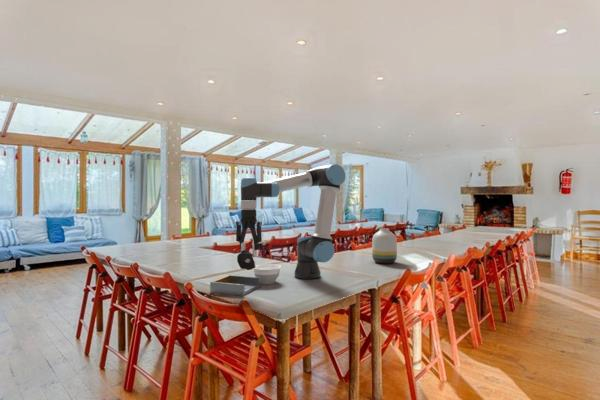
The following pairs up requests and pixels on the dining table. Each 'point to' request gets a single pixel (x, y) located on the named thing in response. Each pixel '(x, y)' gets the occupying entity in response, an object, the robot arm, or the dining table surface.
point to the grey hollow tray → (235, 285)
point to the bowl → (267, 273)
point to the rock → (245, 260)
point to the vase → (384, 246)
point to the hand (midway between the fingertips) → (248, 256)
